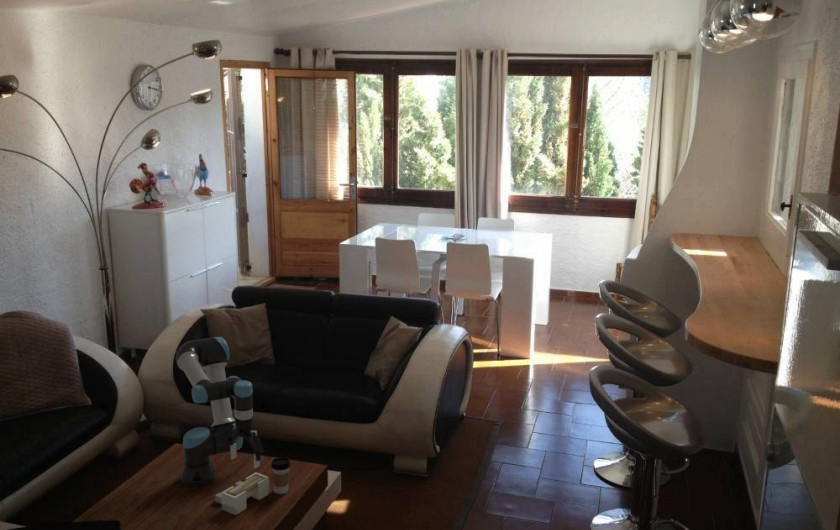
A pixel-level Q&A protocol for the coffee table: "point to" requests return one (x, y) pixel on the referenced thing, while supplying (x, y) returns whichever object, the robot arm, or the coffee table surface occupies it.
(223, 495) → the bracket pair
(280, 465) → the coffee cup
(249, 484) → the rail
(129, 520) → the coffee table surface
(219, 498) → the rest blocks
